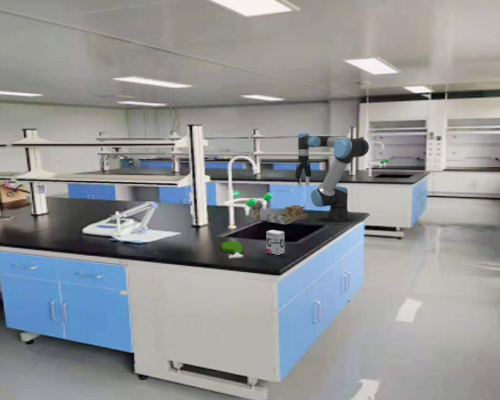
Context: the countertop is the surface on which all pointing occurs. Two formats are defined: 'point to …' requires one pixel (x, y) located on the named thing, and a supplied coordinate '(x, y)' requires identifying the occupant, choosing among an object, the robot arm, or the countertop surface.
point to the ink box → (275, 242)
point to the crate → (293, 211)
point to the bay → (284, 218)
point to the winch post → (257, 211)
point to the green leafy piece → (233, 249)
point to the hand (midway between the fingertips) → (303, 186)
